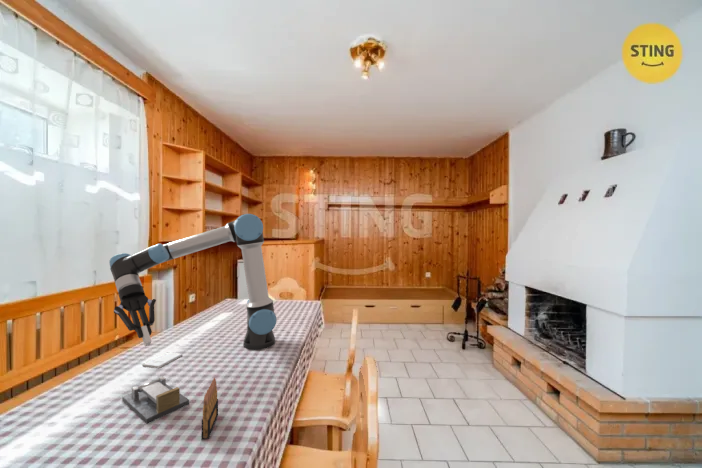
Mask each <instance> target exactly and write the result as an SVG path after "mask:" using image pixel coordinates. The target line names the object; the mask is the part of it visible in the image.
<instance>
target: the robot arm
mask: <svg viewBox="0 0 702 468" xmlns="http://www.w3.org/2000/svg"><path fill="white" fill-rule="evenodd" d="M228 242H233V243H236V246H237V247H238V248H239V249H240V250H241V255H242V261H243V268H244V274H245V281H246V287H247V288H246V290H247V295H248V300H247V302H246V303H247V304H246V305H245V306H246V307H245V308H246V313H247V314H246V316H247V317H246V319H247V320H246V321H247V322H246V325H247V326H246V328H247V329H246V333H245V336H244V339H243V348H244V349H246V350H250V351H251V350H252V351H258V350H259V351H260V350H265V349H269V348H271V347H273V346H274V345H275V344H276V337H275V335H274V331H273V330H274V329H275V327H276V325H277V318H278V317H277V316H276V312H275V308H274V307H275V306H274V301H273V299H272V298H271V297H269V296H270V295H269V290H268V283H267V276H266V269H265V263H264V255H263V249H262V246H263V245H264V243H265V238H264V225H263V221H262V220H261V218H260V217H259V216H258V215H255V214H252V213H245V214H241V215H239V216H238V217H237V218H236V219H235V220H233V221H230V222H227V223H226V224H225V225H224V226H221V227H218V228H214V229H211V230H207V231H204V232H201V233H197V234H193V235H191V236H188V237H184V238H180V239H178V240H174V241H170V242H168V243H164V244H162V243H157V244H155V245H151V246H149V247H147V248H145V249H143V250H141V251H139V252H136V253H134V254H132V255H131V254H130V253H125V252H123V253H118V254H117V253H116V254H115V255H113V256H112V257H111V258H110V260H109V267H110V268H109V269H110V272H111V274H112V277H113V280H114V284H115V288H116V291H117V294H118V297H119V301H120V303H119V305H118V306H115V307H114V310H113V313H114V314H116V315H117V316H118V317H119V319H121V321H122V322H123V324H124V325H125V327H126V329H128V331H129V332H130V331H134V332H136V334H137V337H138V339H142V342H143V344H144V347H145V348H146V347H150V346H151V344H152V338H151V336H152V332H153V331H152V329H151V326H153V325H154V323H155V319H156V318H155V304H156V301H157V299H155V298H153V299H149V298H148V296H146V293H145V290H144V287H143V285H142V281H141V279H140V276H139V273H142V272H144V271H146V270H148V269H151V268H153V267H155V266H158V265H160V264H163V263H165V262H168V261H172V260H174V259H177V258H181V257H184V256H187V255H190V254H194V253H197V252H199V251H203V250H206V249H209V248H212V247H216V246H219V245H221V244H226V243H228ZM146 305H147V306H148V308H149V309H148V315H147V312H146V309H145V307H146ZM125 310H126V311H127V312H129V314H130V317H131V318H130V317H129V316H128V314H127V313H126V311H125ZM138 315H139V316H138ZM139 317H140V319H139ZM140 320H141V321H140ZM141 323H142V324H141Z"/></svg>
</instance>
